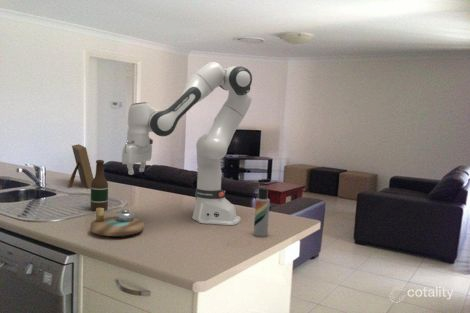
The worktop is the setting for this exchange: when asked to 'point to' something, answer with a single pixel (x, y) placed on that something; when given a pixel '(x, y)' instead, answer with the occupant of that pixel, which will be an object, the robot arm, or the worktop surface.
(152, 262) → the worktop surface
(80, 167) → the photo frame
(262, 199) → the lotion bottle
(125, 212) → the cover
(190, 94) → the robot arm
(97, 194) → the beer bottle
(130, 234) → the turntable base
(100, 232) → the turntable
